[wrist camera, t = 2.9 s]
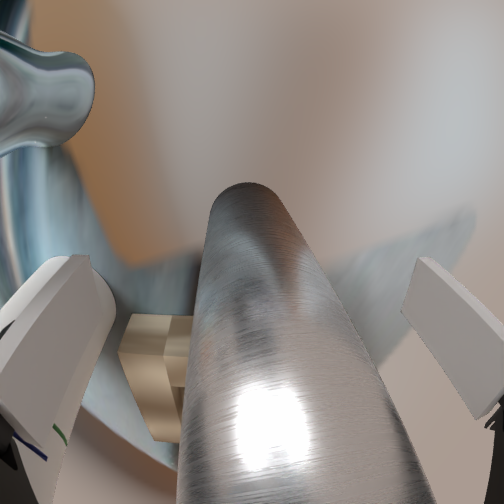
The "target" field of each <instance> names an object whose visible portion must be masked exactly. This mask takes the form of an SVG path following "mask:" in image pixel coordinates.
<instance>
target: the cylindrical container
mask: <svg viewBox="0 0 504 504" xmlns="http://www.w3.org/2000/svg"><path fill="white" fill-rule="evenodd" d="M69 258H70V257H67V256H56V257H53V258H50V259H48V260H47V261H45V262H44V263H43V264H42V265H41V266H40V267H39V268H38V269H37V270H36V271H35V273H34V274H33V275H32V276H31V277H30V278H29V279H28V280H27V281H26V282H25V283H24V284H23V285H22V286H21V287H20V288H19V290H18V291H17V292H16V293H15V294H14V295H13V296H12V297H11V298H10V300H9V301H8V302H7V303H6V304H5V305H4V307H3V308H2V309H1V310H0V332H1V331H2V329H3V328H4V327H6V326H7V325H8V324H10V323H11V322H12V321H14V320H16V319H17V317H18V316H19V315H20V314H21V312H22V311H23V310H24V309H25V307H26V306H27V305H28V304H29V303H30V301H31V300H32V299H33V298H34V297H35V295H36V294H37V293H38V292H39V291H40V290H41V288H42V287H43V286H44V285H45V284H46V283H47V282H48V281H49V279H50V278H51V277H52V276H53V275H54V274H55V273H56V272H57V271H58V270H59V269H60V267H61V266H62V265H63V264H64V263H65V262H66V261H67V260H68V259H69ZM91 268H92V267H91ZM92 272H93V277H94V281H95V285H96V289H97V293H98V297H99V301H100V305H101V309H102V312H103V315H102V317H101V319H100V321H99V323H98V325H97V327H96V329H95V331H94V333H93V335H92V337H91V339H90V341H89V343H88V345H87V347H86V349H85V351H84V353H83V355H82V357H81V359H80V361H79V363H78V365H77V367H76V370H75V372H74V374H73V376H72V378H71V381H70V383H69V385H68V387H67V390H66V392H65V394H64V397H63V399H62V402H61V404H60V406H59V409H58V411H57V414H56V417H55V419H54V422H53V424H52V427H51V430H50V432H49V435H48V438H47V441H46V443H45V446H44V449H43V448H40V447H37V446H35V445H32V444H30V443H27V442H25V441H24V440H23V439H22V438H21V437H20V436H19V435H18V434H17V433H16V432H15V431H14V434H13V436H12V438H13V439H14V440H15V442H16V444H17V447H18V450H19V453H20V456H21V459H22V462H23V465H24V468H25V471H26V474H27V476H28V479H29V482H30V484H31V487H32V489H33V492H34V494H35V496H36V499H37V501H38V503H39V504H52V502H53V497H54V493H55V489H56V485H57V480H58V476H59V473H60V469H61V465H62V461H63V458H64V454H65V451H66V446H67V444H68V441H69V438H70V434H71V431H72V428H73V425H74V422H75V419H76V416H77V413H78V410H79V407H80V404H81V402H82V399H83V396H84V393H85V391H86V388H87V385H88V383H89V380H90V378H91V375H92V372H93V370H94V367H95V365H96V362H97V360H98V358H99V355H100V353H101V350H102V348H103V346H104V343H105V341H106V339H107V336H108V334H109V332H110V330H111V327H112V325H113V323H114V321H115V317H116V303H115V300H114V296H113V294H112V292H111V290H110V288H109V286H108V285H107V283H106V282H105V280H104V279H103V278H102V277H101V276H100V275H99V273H97V272H96V271H95V270H94V269H93V268H92Z"/></svg>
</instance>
